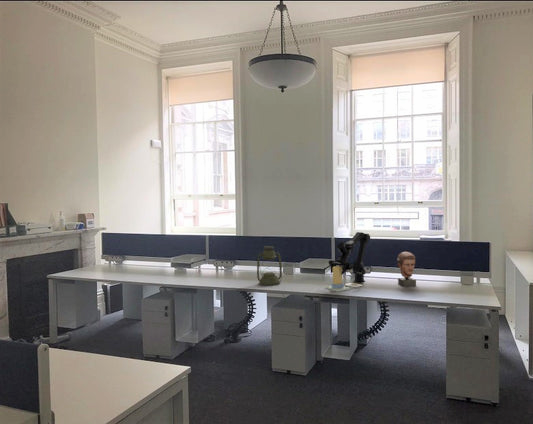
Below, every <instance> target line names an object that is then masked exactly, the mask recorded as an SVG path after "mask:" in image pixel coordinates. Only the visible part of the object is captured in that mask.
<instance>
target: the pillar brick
mask: <svg viewBox="0 0 533 424" xmlns="http://www.w3.org/2000/svg"><path fill="white" fill-rule="evenodd" d="M332 283H333V284H338V285H339V284H342V283H343V275H342V267H340V266H339V265H336V266H335V267H333V272H332Z"/></svg>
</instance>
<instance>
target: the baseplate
mask: <svg viewBox="0 0 533 424" xmlns="http://www.w3.org/2000/svg"><path fill="white" fill-rule="evenodd" d="M325 289H327V290H331V291H333V292H344V291H349V290H351V288H350V287H349V286H344V288H339V289H337V288H332V285H327V286H325Z"/></svg>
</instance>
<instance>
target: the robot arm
mask: <svg viewBox="0 0 533 424" xmlns="http://www.w3.org/2000/svg"><path fill="white" fill-rule="evenodd" d="M370 240H371V235H370V234H369V233H364V232H362V231H357V232H355V234H354V236H353V237H352V238H351V239H350V240H349V241H346V242H344V241H340V243H338V244H337V245H336V249H337V250H338V252H339V254H340V255H339V256H338V257H339V258H338V259H336V261H335V260H334V259H333V260H332V259H329V260H328V262H327V263H328V264H329V266H330V273H331V274H333V267H335V266H340V267H342V276H343V275H344V274H345V273H346V272H347V271H352V274H354V280H353V282H355V283H356V282H357V283H363V282H366V280H365V278H364V277H365V275H366V273H367V271H366V270H365V265H364V258H365V253H366V247H367V245H368V244H369V242H370ZM358 242H359V247H358V248H359V249H358V251H357V257H356V261H355V262H354V261H353V263H352V262H350V261H348V258H349V257H351V256H352V255H351V252H353V251H354V250H355V248H356V244H357V243H358Z"/></svg>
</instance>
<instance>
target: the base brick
mask: <svg viewBox="0 0 533 424" xmlns="http://www.w3.org/2000/svg"><path fill="white" fill-rule="evenodd" d="M344 284H345V283H344V282H342V284H339V285H338V284H333V282H332V283H331V286H332V288H337V289H339V288H344V287H345V285H344Z"/></svg>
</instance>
